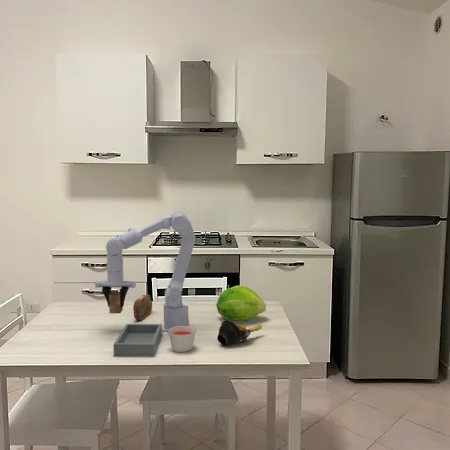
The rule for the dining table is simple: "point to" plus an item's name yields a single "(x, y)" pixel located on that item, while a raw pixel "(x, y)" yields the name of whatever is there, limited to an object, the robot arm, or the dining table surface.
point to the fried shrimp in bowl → (234, 332)
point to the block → (115, 302)
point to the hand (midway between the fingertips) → (116, 306)
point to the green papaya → (240, 303)
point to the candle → (181, 338)
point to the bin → (138, 340)
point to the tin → (142, 307)
